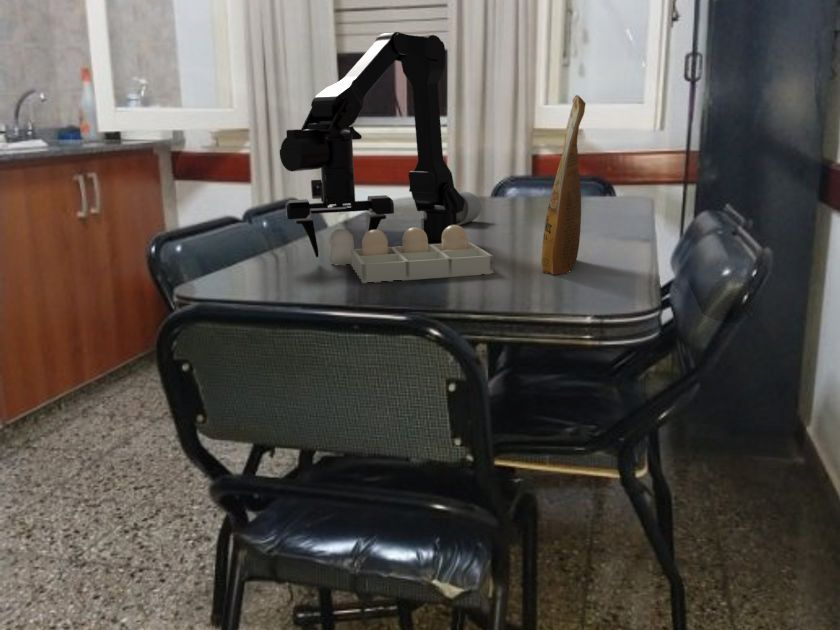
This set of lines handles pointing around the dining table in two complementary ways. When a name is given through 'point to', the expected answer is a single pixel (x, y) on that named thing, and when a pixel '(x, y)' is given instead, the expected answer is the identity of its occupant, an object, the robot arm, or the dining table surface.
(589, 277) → the dining table surface
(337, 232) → the egg
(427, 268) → the carton
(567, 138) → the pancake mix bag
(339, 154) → the robot arm
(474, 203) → the ceramic mug
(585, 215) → the dining table surface
